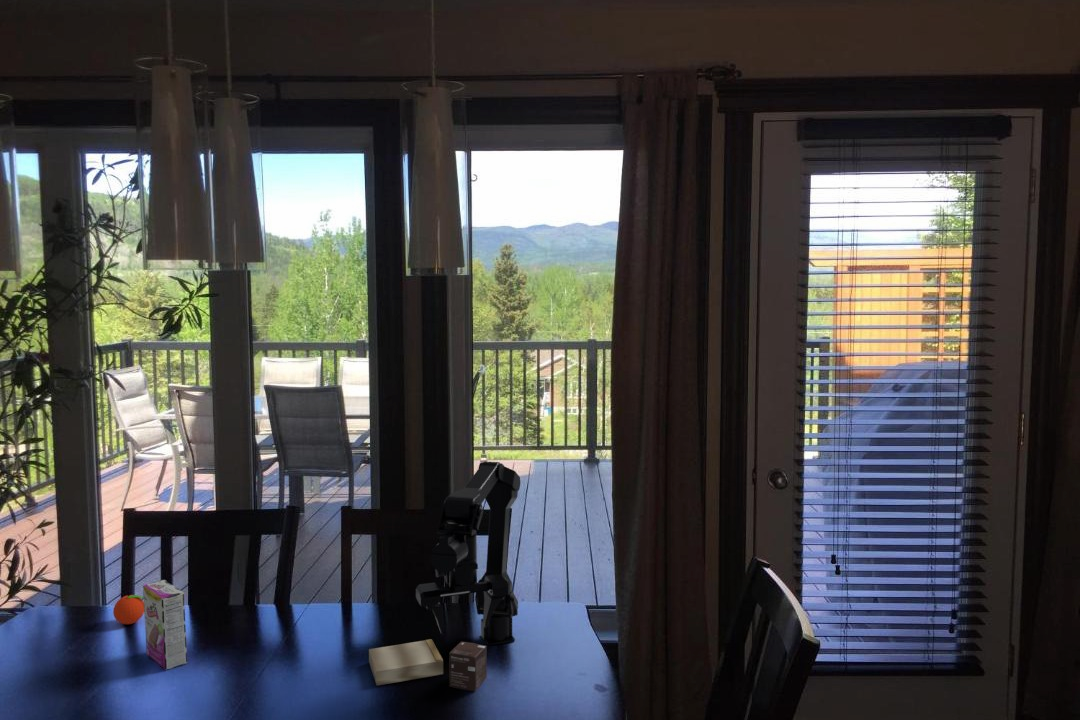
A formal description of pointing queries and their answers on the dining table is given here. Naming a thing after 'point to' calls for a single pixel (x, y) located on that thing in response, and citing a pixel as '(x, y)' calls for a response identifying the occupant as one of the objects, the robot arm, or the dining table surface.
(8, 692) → the dining table surface
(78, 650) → the dining table surface
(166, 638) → the candy bar box
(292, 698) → the dining table surface
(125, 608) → the clementine
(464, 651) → the box
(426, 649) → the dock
